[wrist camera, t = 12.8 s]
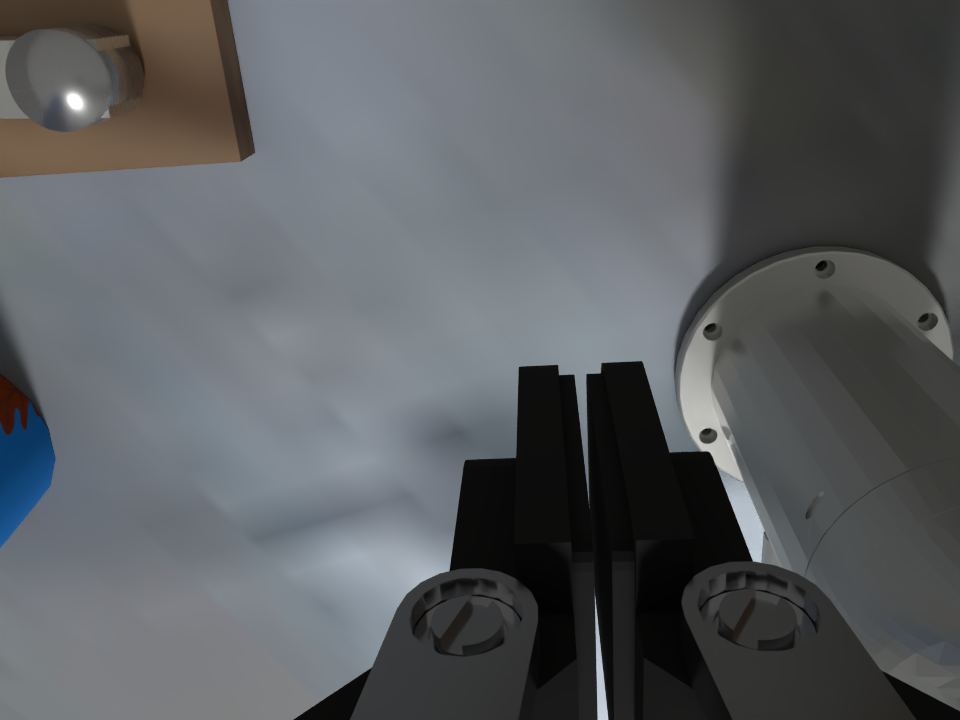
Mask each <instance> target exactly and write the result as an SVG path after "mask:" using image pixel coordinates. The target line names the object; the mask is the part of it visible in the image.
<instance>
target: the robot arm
mask: <svg viewBox="0 0 960 720" xmlns="http://www.w3.org/2000/svg"><path fill="white" fill-rule="evenodd" d="M823 260H824V264H823V265H822V266H821V267H820V268H815V267H816V265H817V264H818V263H819V262H820V261H823ZM923 314H924V316H923V317H922V318H920V317H921V316H922V315H923ZM919 318H920V319H919ZM711 323H714V326H713V327H712V328H711V329H705V327H706V326H707V325H708V324H711ZM953 360H954V347H953V341H952V335H951V329H950V326H949V324H948V321H947V319H946V316H945V314H944V312H943V309H942V307H941V306H940V304H939V303H938V302H937V300H936V299H935V297H934V296H933V295H932V293H931V292H930V291H929V289H928V288H927V287H926V286H925V285H923V284H922V283H921V282H920V281H919V280H918V279H917V278H915V277H914V276H913V275H912V274H911V273H909V272H908V271H906V270H905V269H903V268H902V267H900V266H899V265H897V264H896V263H894V262H893V261H891V260H889V259H886V258H884V257H881V256H879V255H876V254H874V253H871V252H868V251H865V250H859V249H853V248H848V247H842V246H817V247H808V248H803V249H798V250H792V251H787V252H784V253H781V254H778V255H776V256H773V257H770V258H767V259H765V260H762V261H759V262H758V263H756V264H754V265H752V266H751V267H749V268H747V269H746V270H744V271H742V272H740V273H739V274H737V275H735V276H734V277H733V278H732V279H730V280H729V281H728V282H727V283H726V284H724V285H723V286H722V287H721V288H719V289H718V290H717V291H716V292H715V293H714V294H713V295H712V296H711V297H710V298H709V300H708V301H707V302H706V303H705V304H704V305H703V307H702V308H701V309H700V310H699V311H698V313H697V314H696V316H695V318H694V320H693V321H692V323H691V325H690V326H689V328H688V330H687V332H686V333H685V336H684V339H683V342H682V345H681V347H680V350H679V353H678V356H677V363H676V371H675V390H676V401H677V404H678V407H679V411H680V414H681V418H682V420H683V423H684V425H685V427H686V429H687V432H688V434H689V436H690V438H691V440H692V441H693V442H694V444H695V445H696V446H697V448H698V449H699V451H700V452H672V453H669V450H668V446H667V443H666V439H665V436H664V433H663V429H662V426H661V422H660V419H659V416H658V412H657V409H656V406H655V402H654V399H653V395H652V392H651V389H650V385H649V382H648V379H647V375H646V372H645V368H644V365H643V362H642V361H637V362H614V363H602V365H601V374H587V378H586V384H587V426H588V467H589V501H588V492H587V483H586V474H585V465H584V456H583V448H582V439H581V430H580V421H579V412H578V403H577V394H576V386H575V377H574V375H559V371H558V365H548V366H525V367H519V382H518V418H517V454H516V458H505V459H478V460H466V461H465V463H464V468H463V476H462V483H461V491H460V498H459V505H458V513H457V520H456V528H455V535H454V542H453V550H452V557H451V564H450V571H449V572H445V573H440V574H438V575H436V576H434V577H432V578H429V579H427V580H425V581H423V582H421V583H420V584H419V585H417V586H416V587H415V588H414V589H413V590H411V591H410V592H409V593H408V594H407V595H406V596H405V598H404V599H403V601H402V602H401V604H400V605H399V607H398V608H397V610H396V613H395V615H394V617H393V620H392V622H391V624H390V627H389V629H388V631H387V634H386V636H385V639H384V641H383V643H382V646H381V648H380V650H379V653H378V655H377V657H376V660H375V662H374V664H373V667H372V668H371V669H369V670H368V671H366V672H365V673H363V674H362V675H360V676H359V677H357V678H356V679H354V680H353V681H351V682H350V683H348V684H347V685H345V686H344V687H342V688H341V689H339V690H337V691H336V692H334V693H333V694H331V695H330V696H328V697H327V698H325V699H324V700H322V701H321V702H319V703H318V704H316V705H315V706H313V707H312V708H310V709H309V710H307V711H306V712H304V713H303V714H301V715H300V716H298V717H297V718H295V719H294V720H597V678H596V634H595V597H596V606H597V616H598V625H599V635H600V644H601V653H602V663H603V672H604V681H605V691H606V700H607V710H608V719H609V720H960V367H959V366H958V365H957V364H955V363H954V362H953ZM706 428H709V429H708V430H705V431H702V430H703V429H706ZM717 468H718V469H719V470H721V471H722V472H724V473H726V474H728V475H729V476H731V477H733V478H734V479H736V480H738V481H740V482H743V483H745V485H746V488H747V490H748V492H749V495H750V497H751V499H752V502H753V504H754V506H755V509H756V511H757V513H758V516H759V518H760V521H761V523H762V525H763V528H764V530H765V531H764V536H763V549H762V561H761V562H762V563H759V562H753V560H752V558H751V555H750V553H749V550H748V547H747V545H746V542H745V540H744V537H743V534H742V532H741V529H740V527H739V524H738V521H737V519H736V516H735V514H734V511H733V508H732V506H731V503H730V501H729V498H728V495H727V493H726V490H725V488H724V485H723V482H722V480H721V477H720V475H719V472H718V469H717ZM589 508H590V509H589ZM594 588H595V590H594Z"/></svg>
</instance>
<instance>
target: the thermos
mask: <svg viewBox="0 0 960 720" xmlns="http://www.w3.org/2000/svg"><path fill="white" fill-rule="evenodd" d="M54 463H55V456H54V452H53V447H52V443H51V439H50V434H49V430H48V428H47V427H46V425H45V423H44V422H43V420H42V419H41V417H40V415H39V414H38V412H37V411H36V409H35V407H34V406H33V404H32V403H31V401H30V400H29V399H28V398H27V397H26V396H25V395H24V394H22V393H21V392H20V391H19V390H18V389H17V388H16V387H15V386H13V385H12V384H11V383H10V382H9V381H8V380H7V379H6V378H5V377H3V376H2V375H0V548H1V547H2V545H3V544H4V543H5V542H6V540H7V539H8V538H9V537H10V536H11V534H12V533H13V532H14V531H15V529H16V528H17V527H18V526H19V524H20V523H21V522H22V521H23V520H24V518H25V517H26V516H27V515H28V513H29V512H30V511H31V510H32V508H33V507H34V506H35V505H36V503H37V502H38V501H39V499H40V498H41V497H42V496H43V494H44V493H45V492H46V490H47V489H48V488H49V486H50V484H51V479H52V473H53V468H54Z"/></svg>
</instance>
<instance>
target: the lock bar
mask: <svg viewBox="0 0 960 720" xmlns="http://www.w3.org/2000/svg"><path fill="white" fill-rule="evenodd" d="M143 87H144V73H143V68H142V64H141V62H140V59H139V57H138V55H137V53H136V51H135V50H134V48H133V47H132V46H131V44H130V41H129V35H120V34H119V33H117V32H116V31H114V30H112V29H110V28H107V27H104V26H101V25H93V24H90V25H79V26H69V27H59V28H49V29H39V30H34V31H30V32H28V33H25V34H24V35H22V36H6V37H0V119H31V120H33V121H34V122H35V123H37V124H39V125H40V126H42V127H45V128H47V129H50V130H53V131H58V132H71V131H75V130H79V129H82V128H85V127H88V126H91V125H94V124H97V123H100V122H103V121H106V120H109V119H112V118H115V117H118V116H121V115H123V114H126V113H127V112H130V111H133V110H136V109H139V108H141V103H140V97H141V95H142V92H143Z"/></svg>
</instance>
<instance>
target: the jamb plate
mask: <svg viewBox="0 0 960 720" xmlns="http://www.w3.org/2000/svg"><path fill="white" fill-rule="evenodd" d="M90 24H93V25H101V26H104V27H107V28H110V29H112V30H114V31H116V32H117V33H119V34H120V35H129V41H130V44H131V46H132V47H133V48H134V50H135V51H136V53H137V55H138V57H139V59H140V62H141V64H142V68H143V73H144V87H143V92H142V95H141V97H140V103H141V108H139V109H136V110H133V111H130V112H127V113H126V114H123V115H121V116H118V117H115V118H112V119H109V120H106V121H103V122H100V123H97V124H94V125H91V126H88V127H85V128H82V129H79V130H75V131H71V132H58V131H53V130H50V129H47V128H45V127H42V126H40V125H39V124H37V123H35V122H34V121H33V120H31V119H0V178H1V177H16V176H31V175H46V174H61V173H76V172H91V171H106V170H121V169H136V168H151V167H166V166H181V165H196V164H212V163H227V162H241V161H243V160H244V159H246V158H247V157H249V156H251V155H252V154H254V153H255V150H254V144H253V139H252V133H251V128H250V123H249V117H248V112H247V106H246V101H245V95H244V90H243V85H242V79H241V74H240V68H239V63H238V57H237V52H236V47H235V41H234V36H233V30H232V25H231V19H230V14H229V9H228V3H227V0H0V37H6V36H22V35H24V34H25V33H28V32H30V31H34V30H39V29H49V28H59V27H69V26H79V25H90Z"/></svg>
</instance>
